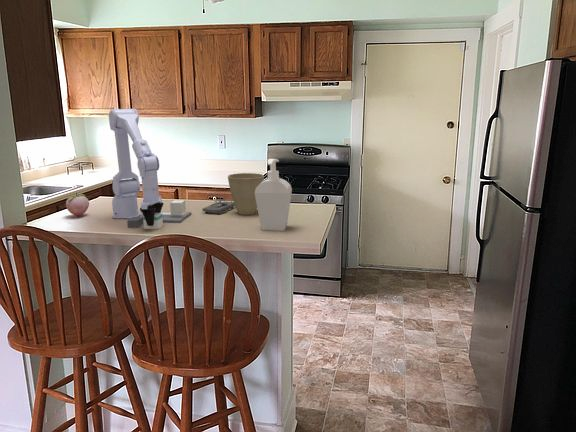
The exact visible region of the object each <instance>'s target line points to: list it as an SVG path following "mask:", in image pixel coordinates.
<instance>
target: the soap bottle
mask: <svg viewBox="0 0 576 432" xmlns="http://www.w3.org/2000/svg"><path fill="white" fill-rule="evenodd" d="M279 162H280V160H279V159H278V158H268V160H267V165H268V166H269V167H270V170H268V171H267V179H265V180H264V179H263V182H262V183H260V184H259V185H258V186H257V188H256V190H255V198H256V203H257V213H258V218H259V223H260V228H261V231H278V232H279V231H280V232H281V231H283V232H284V231H285V230H286V228H287V227H288V219H289V213H290V207H291V200H292V199H291V198H292V191H293V188H292V184H290V183H289V182H288V181H287V180H285V179H283V178H281V177H280V175H279V174H280V171H279V170H277V167H276V164H277V163H279Z"/></svg>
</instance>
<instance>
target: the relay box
mask: <svg viewBox="0 0 576 432" xmlns="http://www.w3.org/2000/svg"><path fill="white" fill-rule="evenodd" d="M126 222H127V228H129V229H130V228H131V229H132V228H134V229H138V228H140V227H142V226H144V222H143V217H142V216H138V217H132V218H128V220H127V221H126Z"/></svg>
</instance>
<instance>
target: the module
mask: <svg viewBox="0 0 576 432" xmlns="http://www.w3.org/2000/svg"><path fill="white" fill-rule="evenodd" d="M162 217H163V216H162V213H155V214H154V225H153V226H148V225H147V223H146V220H145V217H144V216H143V222H144V224H143V229H144V230H159V229H160V228H162V227H164V223H163V218H162Z"/></svg>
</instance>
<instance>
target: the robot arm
mask: <svg viewBox="0 0 576 432" xmlns="http://www.w3.org/2000/svg"><path fill="white" fill-rule="evenodd" d="M139 116H140V115H139V113H138V110H137V109H136V108H135V107H134V108H115V109H114V108H112V109H110V111H109V113H108V121H109V128H110V129H109V130H111V131H113V132H114V137H115V145H116V147H115V149H116V156H117V165H118V172H117V173H116V174H114V176H112V192H113V194H114V196H113V198H112V202H111V206H112V214H113V215H112V219H130V218H132V217H141V216H142V213H143V215H144V217H145V220H146V223H147V225H148V226H153V225H154V214H155V213H161V212H162V210H163V206H164V202H163V199H162V195H160V193H159V192H160V191H159V180H158V178H159V177H158V170H160V160H159V157H158V156H157V155H156V154H155V153H153V152H152V150H151V148H150V146H149V144H148V141H147V140H146V139H143V136H142V133H141V130H140V128H139V126H138V125H139V119H140V117H139ZM129 137H130V139H131V141H132V144H131V147H132V149H133V153H134V154H135V157H136V159H137V164H136V165H137V169H138V172H139V176H138V174H137V173H135V172H133V170H132V161H131V160H132V159H131V153H130V144H129V143H130V142H129ZM139 177H141V178H140V179H141V183H140V179H139ZM141 186H142V187H141ZM141 188H142V189H141ZM141 190H142V201H141V202H142V204H141V203H140V207H139V205H138V195H139V194H140V191H141ZM139 211H140V212H139Z"/></svg>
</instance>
